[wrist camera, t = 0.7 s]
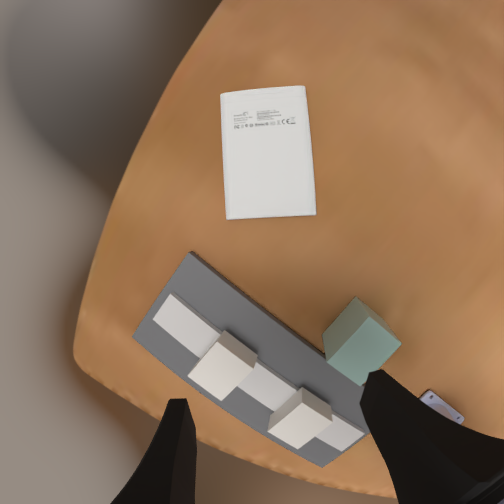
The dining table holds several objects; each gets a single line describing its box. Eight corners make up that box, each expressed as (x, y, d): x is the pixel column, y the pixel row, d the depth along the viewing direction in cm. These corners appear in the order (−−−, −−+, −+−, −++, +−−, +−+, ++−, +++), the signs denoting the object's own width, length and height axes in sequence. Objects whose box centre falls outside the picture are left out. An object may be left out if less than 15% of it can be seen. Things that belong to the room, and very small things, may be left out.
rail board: (394, 404, 28) (404, 428, 23) (321, 462, 30) (322, 487, 26) (192, 251, 29) (173, 257, 25) (136, 333, 31) (114, 349, 27)
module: (383, 319, 27) (401, 343, 21) (350, 356, 28) (360, 386, 22) (355, 296, 27) (369, 316, 21) (321, 334, 28) (326, 362, 22)
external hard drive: (229, 219, 29) (223, 98, 27) (315, 215, 28) (305, 91, 26) (225, 220, 27) (219, 92, 26) (316, 215, 26) (305, 84, 25)
